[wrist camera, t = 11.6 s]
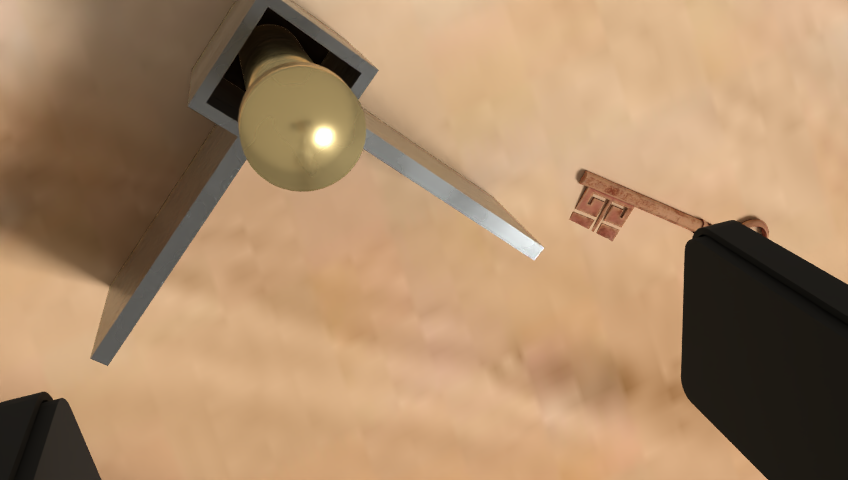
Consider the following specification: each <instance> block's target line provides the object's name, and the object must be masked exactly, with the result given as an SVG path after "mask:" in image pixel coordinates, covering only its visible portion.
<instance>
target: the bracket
mask: <svg viewBox="0 0 848 480" xmlns="http://www.w3.org/2000/svg"><path fill="white" fill-rule="evenodd" d="M268 7H269V8H270V9H272V10H273V11H275V12H276V13H277V14H279V15H280V16H282V17H283V18H284V19H286V20H287V21H289V22H290V23H291V24H293V25H294V26H296V27H297V28H298V29H300V30H301V31H303V32H304V33H306V34H307V35H308V36H310V37H311V38H313V39H314V40H315V41H317V42H318V43H320V44H321V45H322V46H324V47H325V48H327V49H328V50H329V52H328V54H327V55H326V57H325V58H324V60H323V61H322V63H321V64H320V66H322V67H325V68H327V69H329V70H330V71H332V72H334V73H335V74H336V75H338V76H339V77H340V78H341V79H342V80H343V81H344V82H345V83H346V84H347V86H348V87H349V88H350V89H351V90H352V92H353V93H354V94H355V96H356V97H357V99H359V98H360V96H361V95H362V93H363V92H364V91H365V89H366V88H367V86H368V85H369V83H370V82H371V80H372V79H373V78H374V76H375V75H376V73H377V72H378V69H377V68H376V67H375V66H374V65H373V64H371V63H370V62H369V61H368V60H367V59H366V58H365V57H364V56H363V55H362V54H361V53H360V52H359V51H357V50H356V49H355V48H354V47H353V46H352V45H351V44H350V43H349V42H348V41H346V40H345V39H344V38H342V37H341V36H339V35H338V34H337V33H335V32H334V31H333V30H331V29H330V28H328V27H327V26H326V25H324V24H323V23H322V22H320V21H319V20H317V19H316V18H315V17H313V16H312V15H311V14H309V13H308V12H306V11H305V10H304V9H302V8H301V7H299V6H298V5H297V4H295V3H294V2H293V1H291V0H236V1H235V3H234V4H233V6H232V7H231V9H230V11H229V12H228V14H227V15H226V17H225V18H224V20H223V22H222V23H221V25H220V26H219V28H218V29H217V31H216V33H215V34H214V36H213V37H212V39H211V40H210V42H209V44H208V45H207V47H206V48H205V50H204V51H203V53H202V55H201V56H200V58H199V59H198V61H197V62H196V64H195V66H194V67H193V69H192V73H191V81H190V89H189V97H188V105H187V106H188V107H190V108H191V109H193V110H194V111H196V112H198V113H199V114H201V115H203V116H204V117H206V118H208V119H209V120H211V121H213V122H214V123H216V125H215V127H214V128H213V130H212V131H211V133H210V134H209V136H208V137H207V139H206V140H205V142H204V143H203V145H202V147H201V148H200V150H199V151H198V153H197V154H196V156H195V157H194V159H193V160H192V162H191V163H190V165H189V166H188V168H187V169H186V171H185V172H184V174H183V176H182V177H181V179H180V180H179V182H178V183H177V185H176V186H175V188H174V189H173V191H172V192H171V194H170V195H169V197H168V198H167V200H166V201H165V203H164V205H163V206H162V208H161V209H160V211H159V212H158V214H157V215H156V217H155V218H154V220H153V221H152V223H151V224H150V226H149V227H148V229H147V230H146V232H145V234H144V235H143V237H142V238H141V240H140V241H139V243H138V244H137V246H136V247H135V249H134V250H133V252H132V253H131V255H130V256H129V258H128V259H127V261H126V263H125V264H124V266H123V267H122V269H121V270H120V272H119V273H118V275H117V276H116V278H115V279H114V281H113V282H112V284H111V285H110V288H109V291H108V295H107V299H106V303H105V306H104V310H103V314H102V317H101V321H100V325H99V328H98V332H97V336H96V339H95V343H94V347H93V350H92V354H91V358H90V359H93V360H95V361H97V362H100V363H102V364H105V365H107V366H108V365H109V363H110V362H111V360H112V359H113V357H114V356H115V354H116V353H117V351H118V350H119V348H120V347H121V345H122V344H123V343H124V341H125V340H126V338H127V337H128V335H129V334H130V332H131V331H132V329H133V328H134V326H135V325H136V323H137V322H138V320H139V319H140V317H141V316H142V314H143V313H144V311H145V310H146V308H147V307H148V305H149V304H150V302H151V301H152V299H153V298H154V296H155V295H156V293H157V292H158V290H159V289H160V287H161V286H162V284H163V283H164V281H165V280H166V278H167V277H168V275H169V274H170V273H171V271H172V270H173V268H174V267H175V265H176V264H177V262H178V261H179V259H180V258H181V256H182V255H183V253H184V252H185V250H186V249H187V247H188V246H189V244H190V243H191V241H192V240H193V238H194V237H195V235H196V234H197V232H198V231H199V229H200V228H201V226H202V225H203V223H204V222H205V220H206V219H207V217H208V216H209V214H210V213H211V211H212V210H213V208H214V207H215V205H216V204H217V203H218V201H219V200H220V198H221V197H222V195H223V194H224V192H225V191H226V189H227V188H228V186H229V185H230V183H231V182H232V180H233V179H234V177H235V176H236V174H237V173H238V171H239V170H240V168H241V167H242V165H243V164H244V162H245V161H246V159H247V158H246V156H245V154H244V152H243V149H242V146H241V141H240V134H239V128H238V115H239V109H240V104H241V102H242V99H243V96H244V95H245V93H246V92H245V91H243V90H242V89H240V88H239V87H237V86H236V85H234V84H233V83H231V82H229V81H228V80H226V79H225V78H223V76H224V74H225V72H226V71H227V69H228V68H229V66H230V65H231V63H232V62H233V60H234V59H235V57H236V55H237V54H238V52H239V51H240V49H241V48H242V46H243V45H244V43H245V42H246V40H247V38H248V37H249V35H250V34H251V32H252V31H253V29H254V28H255V26H256V25H257V23H258V21H259V20H260V18H261V17H262V15H263V14H264V12H265V11H266V9H267V8H268ZM362 109H363V108H362ZM363 112H364V116H365V121H366V138H365V144H364V147H363V149H365V150H366V151H368V152H369V153H371V154H372V155H374V156H375V157H377V158H378V159H380V160H381V161H383V162H384V163H386V164H387V165H389V166H390V167H392V168H394V169H395V170H397V171H398V172H400V173H401V174H403V175H404V176H406V177H407V178H409V179H410V180H412V181H413V182H415V183H416V184H418V185H420V186H421V187H423V188H424V189H426V190H427V191H429V192H430V193H432V194H433V195H435V196H436V197H438V198H439V199H441V200H442V201H444V202H445V203H447V204H449V205H450V206H452V207H453V208H455V209H456V210H458V211H459V212H461V213H462V214H464V215H465V216H467V217H468V218H470V219H471V220H473V221H475V222H476V223H478V224H479V225H481V226H482V227H484V228H485V229H487V230H488V231H490V232H491V233H493V234H494V235H496V236H497V237H499V238H500V239H502V240H504V241H505V242H507V243H508V244H510V245H511V246H513V247H514V248H516V249H517V250H519V251H520V252H522V253H523V254H525V255H526V256H528V257H530V258H531V259H533V260H535V259H536V258H537V256H538V255H539V254H540V253H541V251H542V250H543V249H544V247H543V246H542V245H541V244H540V243H539V242H538V241H537V240H536V239H535V238H534V237H533V236H532V235H531V234H530V233H529V232H528V231H527V230H526V229H525V228H524V227H523V226H522V225H521V224H520V223H519V222H518V221H517V220H516V219H515V218H514V217H513V216H512V215H511V214H510V213H509V212H508V211H507V210H506V209H505V208H504V207H503V206H502V205H501V204H500V203H499V202H498V201H497V200H496V199H495V198H494V197H492V196H491V195H489V194H488V193H486V192H485V191H483V190H482V189H480V188H479V187H477V186H476V185H475V184H473V183H472V182H470V181H469V180H467V179H466V178H464V177H463V176H461V175H460V174H458V173H457V172H456V171H454V170H453V169H451V168H450V167H448V166H447V165H445V164H444V163H442V162H441V161H439V160H438V159H437V158H435V157H434V156H432V155H431V154H429V153H428V152H426V151H425V150H423V149H422V148H420V147H419V146H418V145H416V144H415V143H413V142H412V141H410V140H409V139H407V138H406V137H404V136H403V135H401V134H400V133H399V132H397V131H396V130H394V129H393V128H391V127H390V126H388V125H387V124H385V123H384V122H382V121H381V120H380V119H378V118H377V117H375V116H374V115H372V114H371V113H369V112H368V111H366V110H365V109H363Z"/></svg>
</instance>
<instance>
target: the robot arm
mask: <svg viewBox="0 0 848 480" xmlns="http://www.w3.org/2000/svg"><path fill="white" fill-rule="evenodd" d="M681 382H682V386H683V389H684V392H685V394H686V396H687V397H688V399H689V400H690V401H691V403H692V404H693V405H694V406H695V407H696V408H697V409H698V410H699V411H700V412H701V413H702V414H703V415H704V416H705V417H706V418H707V419H708V420H709V421H710V422H711V423H712V424H713V425H714V426H715V427H716V428H717V429H718V430H719V431H720V432H721V433H722V434H723V435H724V436H725V437H726V438H727V439H728V440H729V441H730V442H731V443H732V444H733V445H734V446H735V447H736V448H737V449H738V450H739V451H740V452H741V453H742V454H743V455H744V456H745V457H746V458H747V459H748V460H749V461H750V462H751V463H752V464H753V465H754V466H755V467H756V468H757V469H758V470H759V471H760V472H761V473H762V474H763V475H764V476H765V477H766V478H767V479H768V480H848V284H846V283H844V282H842V281H841V280H839V279H837V278H835V277H834V276H832V275H830V274H828V273H827V272H825V271H823V270H821V269H820V268H818V267H816V266H814V265H813V264H811V263H809V262H808V261H806V260H804V259H802V258H801V257H799V256H797V255H795V254H794V253H792V252H790V251H788V250H787V249H785V248H783V247H781V246H780V245H778V244H776V243H774V242H773V241H771V240H769V239H768V238H766V237H764V236H762V235H761V234H759V233H757V232H755V231H754V230H752V229H750V228H748V227H747V226H745V225H743V224H741V223H740V222H737V221H735V220H731V221H726V222H722V223H718V224H714V225H710V226H706V227H702V228H699V229H697V230H696V231H695V233H694V235H693V238H692V239H691V240H689V241H688V242H687V244H686V246H685V261H684V295H683V329H682V363H681ZM0 480H101V478H100V476H99V473H98V471H97V469H96V466H95V464H94V462H93V459H92V457H91V455H90V452H89V450H88V447H87V445H86V443H85V440H84V438H83V436H82V433H81V431H80V429H79V426H78V424H77V422H76V419H75V417H74V415H73V412H72V410H71V408H70V406H69V404H68V402H67V401H66V400H65V399H64V398H60V399H56V400H53V399H52V397H51V396H50V395H49V394H48V393H46V392H40V393H36V394H32V395H28V396H24V397H20V398H16V399H12V400H8V401H4V402H1V403H0Z"/></svg>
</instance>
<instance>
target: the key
mask: <svg viewBox="0 0 848 480" xmlns="http://www.w3.org/2000/svg"><path fill="white" fill-rule="evenodd" d="M579 183H580V184H582V185H585V186H587V187H586V189H585V191H584V193H583V195H582V197H581V198H580V200H579V202H578V204H577V206H576V208H575V209H577V210H580V211H582V212H585V213H587V214H590V215H592V216H595V217H597V215H598V213H599V212H600V210H601V209H602V207H603V205H604V204H605V202H604V201H601V200H599V199H597V198H594V197H593V199H592V201H591V203H590V204H588V202H589V201H590V199H591V197H592V195H593V194H596V195H599V196H601V197H603V198H606V199H608V202H607V203H606V205H605V207H604V209H603V211H602V212H601V214H600V216H599V218H598V220H597V221H596V223H595V225H594V227H593V229H592V231H593V232H594V230H595V229H596V227H597V225H598V224H599V222H600V221H601V219H602V217H603V216H604V214H605V213H606V211H607V209H608V208H609V206H610V205H611V203H612V202H615V203H617V204H619V205H622V206H624V207H626V210H625V211H624V210H623V209H621V208H618V207H616V206H613V205H612V206H611V208H610V209H609V211H608V213H607V215H606V217H605V218H604V221H607V222H609V223H612V224H614V225H617V226H619V227H622V226H623V224H624V222H625V221H626V219H627V218H628V216H629V215H630V213H631V212H632V210H633V208H634V207H637V208H639V209H641V210H644V211H646V212H648V213H651V214H653V215H656V216H658V217H660V218H663V219H665V220H667V221H670V222H672V223H674V224H677V225H679V226H682V227H684V228H686V229H689V230H691V231H693V233H695V231H696V230H697V229H699V228H702V227H706V226H710V225H711V224H708V223H707V222H705V221H704V220H703V219H700V220H699V219H697V218H694V217H692V216H690V215H687V214H685V213H683V212H681V211H678V210H676V209H674V208H671V207H669V206H667V205H664V204H662V203H660V202H657V201H655V200H653V199H651V198H648V197H646V196H644V195H641V194H639V193H637V192H634V191H632V190H630V189H628V188H625V187H623V186H621V185H618V184H616V183H614V182H611V181H609V180H607V179H604V178H602V177H600V176H598V175H595V174H593V173H591V172H588V171H585V173H584V175H583V176H582V178H581V180H580V182H579ZM623 211H624V213H623V215H622V217H620V215H621V214H622V212H623ZM570 220H572V221H574V222H576V223H578V224H580V225H582V226H584V227H586V228H588V229H589V228H590V226H591V225H592V223H593V221H594V220H593V219H590V218H588V217H585V216H583V215H580V214H578V213H575V212H573V213H572V215H571V217H570ZM742 224H743V225H745V226H747V227H748V228H750V227H755V226H759V227H761V230H762V236H764V237H766V238H768V236H769V231H768V227H767V225H766V224H765V222H763V221H762V220H756V219H754V220H748V221H745V222H743V223H742ZM618 232H619V230H618V229H615V228H613V227H610V226H608V225H605V224H603V223H602V224H601V226H600V227H599V229H598V231H597V234H599V235H601V236H603V237H605V238H609V240H611V241H613V240H614V238H615V237H616V235H617V233H618Z"/></svg>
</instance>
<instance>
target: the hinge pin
mask: <svg viewBox="0 0 848 480" xmlns="http://www.w3.org/2000/svg"><path fill="white" fill-rule="evenodd" d="M239 59H240V64H241V69H242V73H243V78H244V83H245V87H246V93H245V95H244V96H243V99H242V102H241V104H240V109H239V115H238V128H239V134H240V141H241V146H242V149H243V152H244V154H245V156H246V158H247V160H248V162H249V163H250V165H251V166H252V168H253V169H254V170H255V171H256V172H257V173H258V174H259V175H260V176H261V177H262V178H264V179H265V180H267V181H268V182H269V183H271V184H273V185H275V186H277V187H280V188H283V189H287V190H291V191H300V192H301V191H314V190H318V189H322V188H325V187H327V186H330V185H332V184H334V183H335V182H337V181H339V180H340V179H341V178H343V177H344V176H345V175H346V174H347V173H348V172H349V171H350V170H351V169H352V168H353V167H354V165H355V164H356V162H357V161H358V159H359V157H360V155H361V153H362V151H363V147H364V144H365V138H366V121H365V116H364V112H363V109H362V107H361V104H360V103H359V101H358V99H357V97H356V96H355V94H354V93H353V92H352V90H351V89H350V88H349V87H348V86H347V84H346V83H345V82H344V81H343V80H342V79H341V78H340V77H339V76H338V75H336V74H335V73H334V72H332V71H330V70H329V69H327V68H325V67H322V66H320V65H317V64H314V63H313V62H312V60H311V59H310V57H309V56H308V55H307V53H306V52H305V50H304V49H303V47H302V46H301V45H300V43H299V42H298V40H297V39H296V38H295V36H294V35H293V34H292V33H291V32H290V31H289V30H287V29H286V28H284V27H282V26H279V25H275V24H263V25H259V26H257V27H255V28H254V29H253V31H252V32H251V34H250V35H249V37H248V38H247V40H246V42H245V43H244V45H243V46H242V48H241V49H240V51H239Z"/></svg>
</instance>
